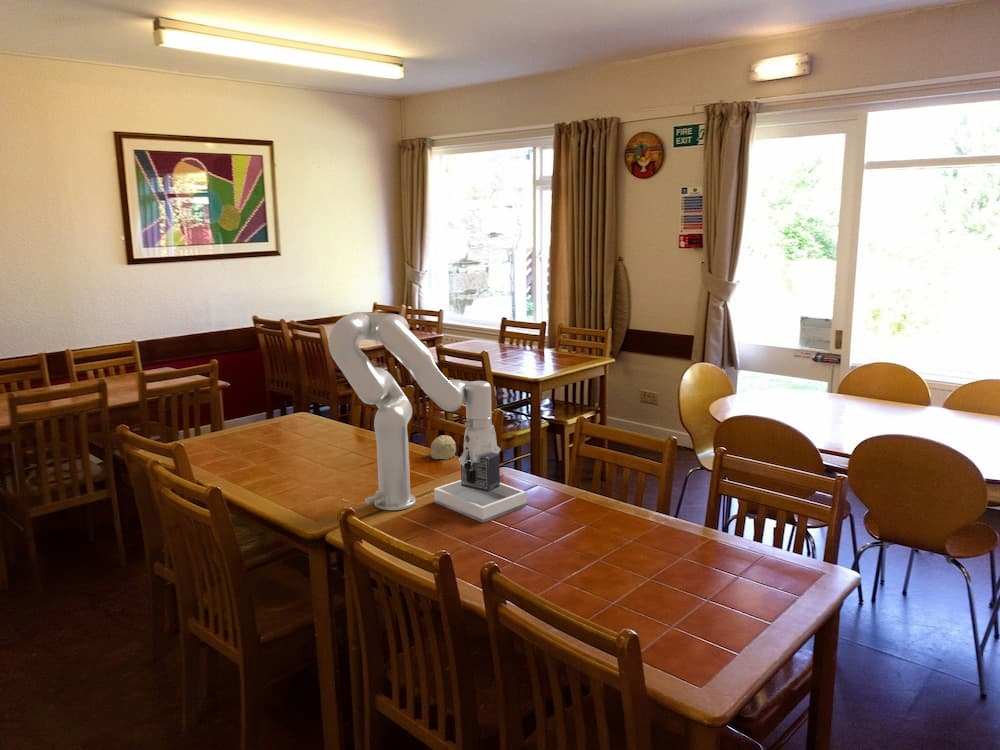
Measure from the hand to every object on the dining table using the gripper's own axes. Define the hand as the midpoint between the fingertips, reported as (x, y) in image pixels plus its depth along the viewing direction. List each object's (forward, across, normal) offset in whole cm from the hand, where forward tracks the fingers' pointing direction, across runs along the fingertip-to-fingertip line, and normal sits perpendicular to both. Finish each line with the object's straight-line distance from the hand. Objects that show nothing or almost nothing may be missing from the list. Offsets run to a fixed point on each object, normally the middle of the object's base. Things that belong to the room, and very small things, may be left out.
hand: (480, 478), depth 216 cm
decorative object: (+8, +22, +44) cm, 50 cm away
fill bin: (+8, 0, 0) cm, 8 cm away
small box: (+3, 0, 0) cm, 3 cm away
